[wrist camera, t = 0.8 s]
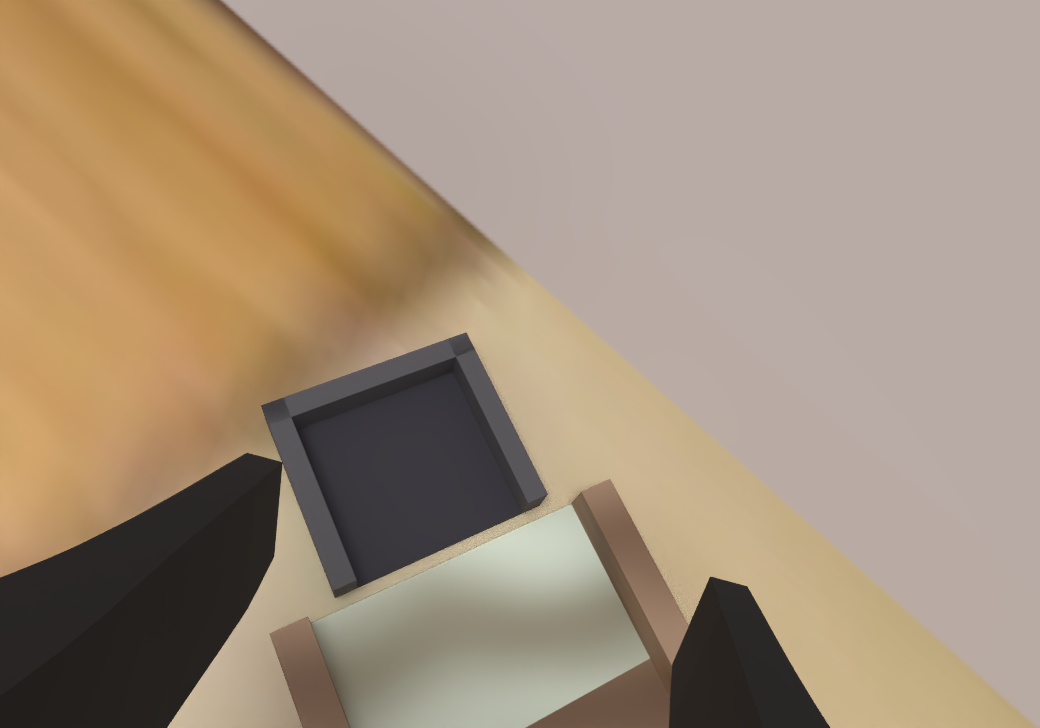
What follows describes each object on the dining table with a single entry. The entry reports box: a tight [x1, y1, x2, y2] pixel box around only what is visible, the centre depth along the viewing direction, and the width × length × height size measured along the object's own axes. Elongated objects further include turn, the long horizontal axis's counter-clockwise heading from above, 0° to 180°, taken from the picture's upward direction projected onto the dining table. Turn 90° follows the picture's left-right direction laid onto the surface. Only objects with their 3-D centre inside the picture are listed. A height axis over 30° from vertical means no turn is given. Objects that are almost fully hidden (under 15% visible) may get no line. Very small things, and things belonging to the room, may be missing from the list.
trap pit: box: [261, 333, 548, 598], centre depth 28 cm, size 7×8×2 cm
